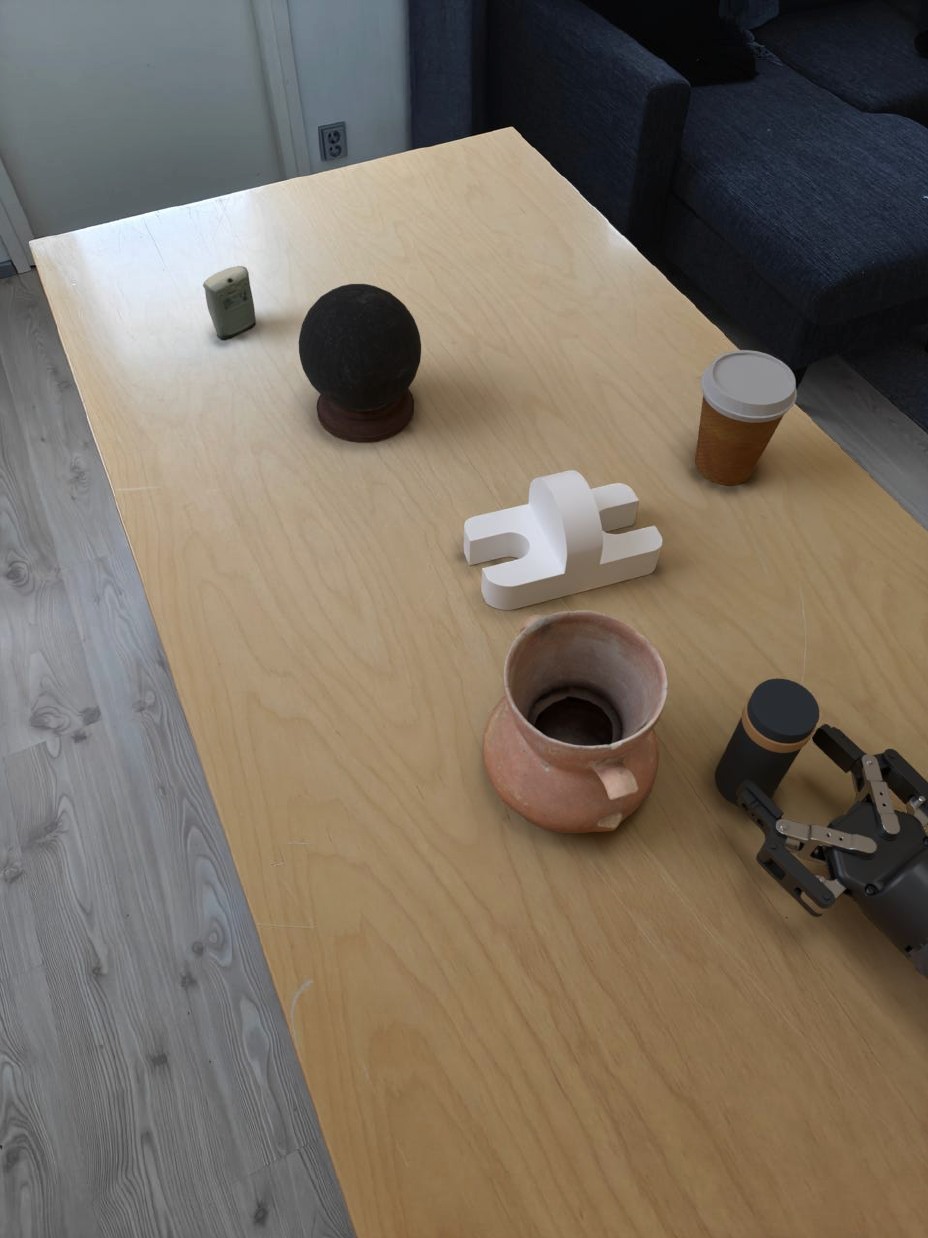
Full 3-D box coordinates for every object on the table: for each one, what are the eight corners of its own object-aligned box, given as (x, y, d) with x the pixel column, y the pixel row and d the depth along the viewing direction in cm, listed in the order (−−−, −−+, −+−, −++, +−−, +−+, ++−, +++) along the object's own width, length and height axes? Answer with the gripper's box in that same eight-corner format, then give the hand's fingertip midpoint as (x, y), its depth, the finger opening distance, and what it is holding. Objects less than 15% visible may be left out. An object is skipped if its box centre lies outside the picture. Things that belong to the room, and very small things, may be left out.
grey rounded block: (245, 348, 113) (232, 290, 107) (205, 340, 114) (191, 282, 108) (263, 321, 117) (252, 263, 110) (224, 314, 117) (211, 256, 111)
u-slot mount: (491, 615, 89) (495, 546, 81) (459, 544, 94) (460, 473, 86) (661, 571, 92) (680, 501, 85) (621, 505, 98) (636, 434, 90)
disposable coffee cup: (663, 451, 103) (685, 362, 93) (731, 426, 106) (760, 337, 96) (714, 507, 98) (743, 419, 88) (785, 478, 101) (821, 390, 91)
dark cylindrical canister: (766, 751, 80) (809, 674, 71) (784, 807, 77) (831, 734, 67) (706, 755, 80) (741, 678, 70) (721, 812, 77) (760, 739, 67)
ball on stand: (443, 394, 108) (442, 279, 97) (386, 463, 101) (378, 348, 89) (347, 360, 112) (335, 246, 100) (286, 425, 105) (264, 309, 93)
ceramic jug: (687, 831, 76) (728, 745, 64) (520, 883, 73) (533, 802, 61) (601, 658, 86) (623, 557, 75) (452, 698, 83) (452, 599, 72)
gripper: (1040, 850, 64) (857, 688, 72) (906, 970, 59) (725, 782, 67) (989, 890, 70) (826, 736, 78) (864, 1002, 65) (703, 826, 73)
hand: (780, 757), depth 73 cm, fingers open, 8 cm apart
